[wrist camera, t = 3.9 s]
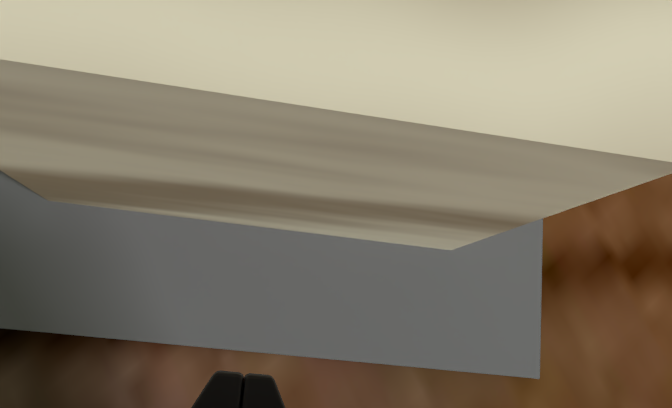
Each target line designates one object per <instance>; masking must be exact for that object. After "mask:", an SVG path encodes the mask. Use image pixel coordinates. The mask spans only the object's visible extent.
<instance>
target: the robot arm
mask: <svg viewBox="0 0 672 408" xmlns="http://www.w3.org/2000/svg"><path fill="white" fill-rule="evenodd" d="M243 380H244V381H243ZM192 408H285V406H284V403H283V401H282V398H281V396H280V393H279V390H278V388H277V385H276V383H275V380H274V379H273V377H272V376H270V375H262V374H251V373H249V374H247V375H245V377H243V375H242V374H241V373H239V372H229V371H217V372H215V373H214V374H213V376H212V377H211V379H210V380H209V382H208V383H207V385H206V386H205V388H204V389H203V391H202V392H201V394H200V395H199V397H198V398H197V400H196V402H195V403H194V405H193V406H192Z"/></svg>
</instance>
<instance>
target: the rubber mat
mask: <svg viewBox="0 0 672 408" xmlns="http://www.w3.org/2000/svg"><path fill="white" fill-rule="evenodd" d="M542 236H543V218H542V219H539V220H537V221H534V222H531V223H528V224H525V225H522V226H519V227H516V228H514V229H511V230H508V231H505V232H502V233H499V234H496V235H494V236H491V237H488V238H485V239H482V240H479V241H476V242H474V243H471V244H468V245H465V246H462V247H459V248H456V249H453V250H444V249H436V248H428V247H419V246H411V245H403V244H395V243H387V242H379V241H371V240H363V239H355V238H347V237H338V236H330V235H322V234H314V233H306V232H298V231H290V230H282V229H274V228H265V227H257V226H249V225H241V224H233V223H225V222H217V221H209V220H201V219H193V218H184V217H176V216H168V215H160V214H152V213H144V212H136V211H128V210H120V209H111V208H103V207H95V206H87V205H79V204H71V203H63V202H55V201H48V200H46V199H45V198H43V197H41V196H40V195H38V194H37V193H35V192H34V191H32V190H30V189H29V188H27V187H26V186H24V185H23V184H21V183H19V182H18V181H16V180H15V179H13V178H12V177H10V176H8V175H7V174H5V173H4V172H2V171H1V170H0V328H4V329H15V330H25V331H36V332H47V333H57V334H68V335H79V336H89V337H100V338H111V339H121V340H132V341H142V342H153V343H164V344H174V345H185V346H196V347H206V348H217V349H228V350H238V351H249V352H260V353H270V354H281V355H292V356H302V357H313V358H323V359H334V360H345V361H355V362H366V363H377V364H387V365H398V366H409V367H419V368H430V369H441V370H451V371H462V372H473V373H483V374H494V375H504V376H515V377H526V378H536V379H540V338H541V287H542Z"/></svg>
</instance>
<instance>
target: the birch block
mask: <svg viewBox="0 0 672 408" xmlns="http://www.w3.org/2000/svg"><path fill="white" fill-rule="evenodd" d="M0 170H1V171H2V172H4V173H5V174H7V175H8V176H10V177H12V178H13V179H15V180H16V181H18V182H19V183H21V184H23V185H24V186H26V187H27V188H29V189H30V190H32V191H34V192H35V193H37V194H38V195H40V196H41V197H43V198H45V199H46V200H48V201H55V202H63V203H71V204H79V205H87V206H95V207H103V208H111V209H120V210H128V211H136V212H144V213H152V214H160V215H168V216H176V217H184V218H193V219H201V220H209V221H217V222H225V223H233V224H241V225H249V226H257V227H265V228H274V229H282V230H290V231H298V232H306V233H314V234H322V235H330V236H338V237H347V238H355V239H363V240H371V241H379V242H387V243H395V244H403V245H411V246H419V247H428V248H436V249H444V250H453V249H456V248H459V247H462V246H465V245H468V244H471V243H474V242H476V241H479V240H482V239H485V238H488V237H491V236H494V235H496V234H499V233H502V232H505V231H508V230H511V229H514V228H516V227H519V226H522V225H525V224H528V223H531V222H534V221H537V220H539V219H542V218H545V217H548V216H551V215H554V214H557V213H559V212H562V211H565V210H568V209H571V208H574V207H577V206H579V205H582V204H585V203H588V202H591V201H594V200H597V199H600V198H602V197H605V196H608V195H611V194H614V193H617V192H620V191H622V190H625V189H628V188H631V187H634V186H637V185H640V184H642V183H645V182H648V181H651V180H654V179H657V178H660V177H663V176H665V175H668V174H671V173H672V0H0Z"/></svg>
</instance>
